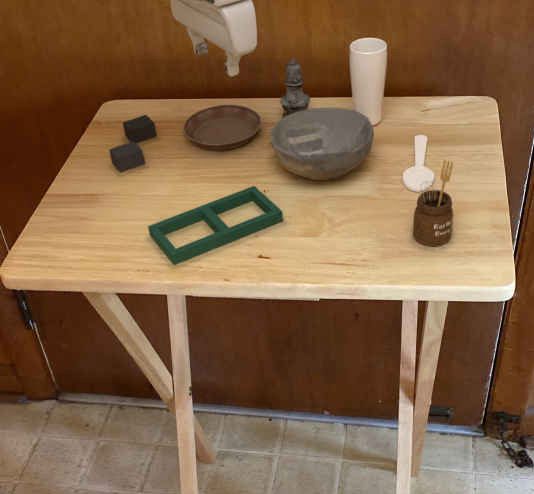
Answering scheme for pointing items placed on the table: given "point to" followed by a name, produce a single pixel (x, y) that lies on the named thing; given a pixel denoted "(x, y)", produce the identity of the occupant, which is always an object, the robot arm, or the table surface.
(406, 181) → the spoon
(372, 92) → the drinking glass
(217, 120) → the saucer
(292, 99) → the dark grey tiered figurine
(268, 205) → the green divided frame
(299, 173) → the bowl
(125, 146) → the pad
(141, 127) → the pad
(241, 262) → the table surface
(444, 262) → the table surface
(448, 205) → the utensil holder
